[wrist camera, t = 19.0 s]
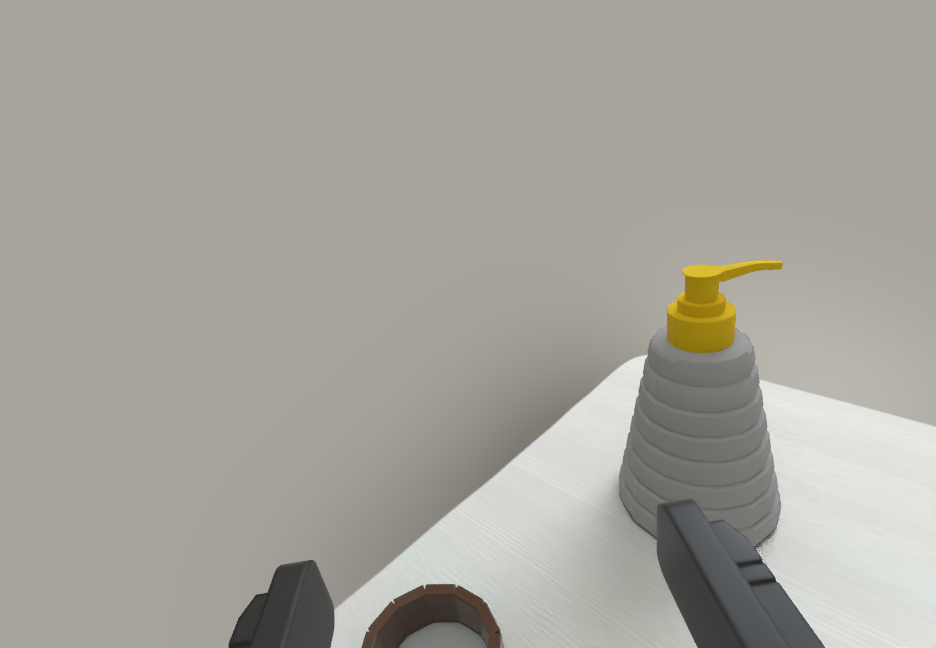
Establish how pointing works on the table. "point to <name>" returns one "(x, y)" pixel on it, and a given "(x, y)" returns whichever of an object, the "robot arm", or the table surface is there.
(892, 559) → the table surface
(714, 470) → the soap bottle
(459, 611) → the can holder
